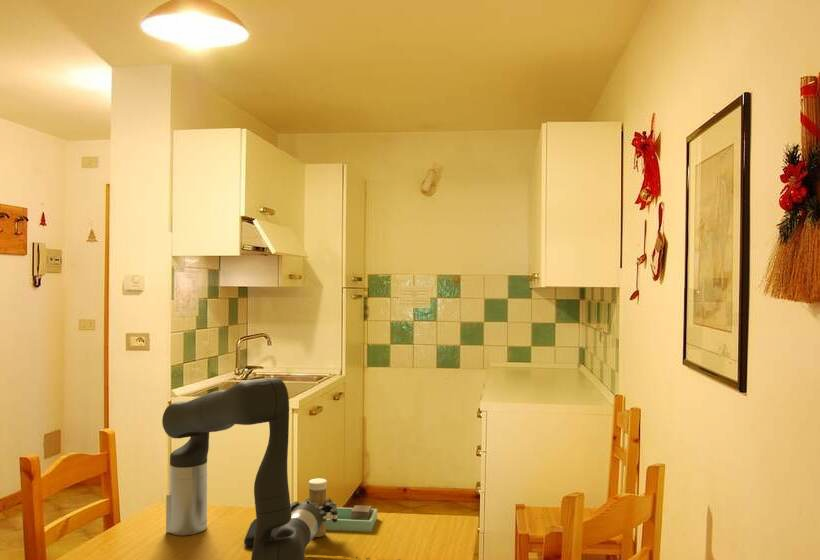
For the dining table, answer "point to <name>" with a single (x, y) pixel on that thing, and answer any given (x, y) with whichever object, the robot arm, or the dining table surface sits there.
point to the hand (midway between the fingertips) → (320, 501)
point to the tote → (351, 521)
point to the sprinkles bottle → (318, 498)
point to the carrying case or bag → (251, 534)
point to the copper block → (361, 512)
